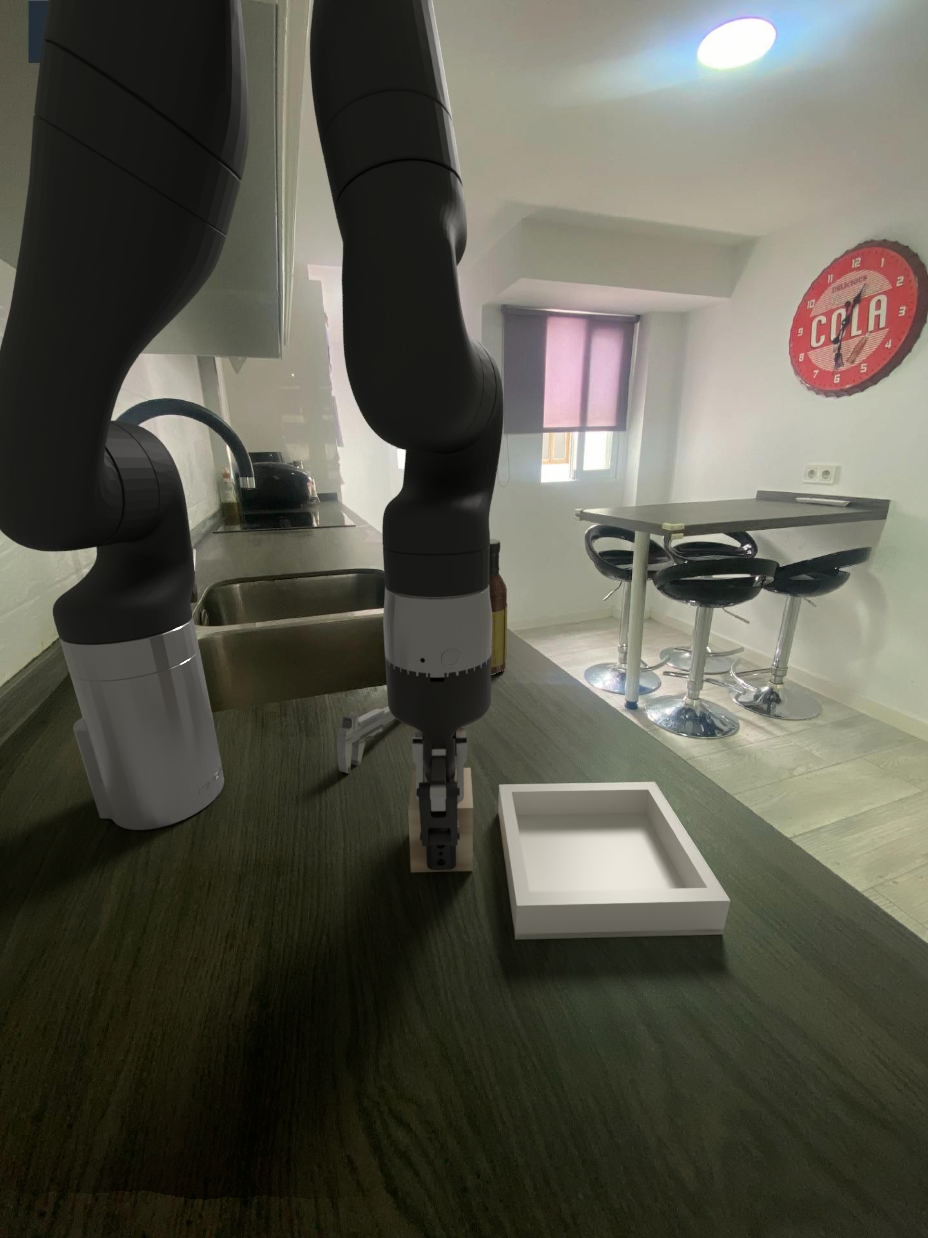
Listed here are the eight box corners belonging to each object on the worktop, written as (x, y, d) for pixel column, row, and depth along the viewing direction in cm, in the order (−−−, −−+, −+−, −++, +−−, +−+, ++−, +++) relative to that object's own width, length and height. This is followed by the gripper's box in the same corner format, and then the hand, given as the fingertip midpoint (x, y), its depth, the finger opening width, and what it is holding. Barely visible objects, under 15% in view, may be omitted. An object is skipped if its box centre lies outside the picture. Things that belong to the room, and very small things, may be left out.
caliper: (348, 778, 48) (343, 724, 46) (339, 775, 48) (333, 722, 46) (437, 692, 65) (436, 650, 63) (430, 691, 66) (429, 649, 64)
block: (410, 872, 36) (407, 807, 34) (415, 826, 41) (412, 767, 39) (472, 871, 36) (473, 806, 35) (470, 825, 41) (470, 766, 39)
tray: (515, 939, 31) (516, 905, 30) (498, 812, 43) (499, 784, 42) (722, 934, 32) (730, 900, 31) (650, 809, 43) (654, 782, 42)
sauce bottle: (480, 657, 76) (481, 535, 70) (513, 667, 73) (518, 539, 66) (456, 671, 71) (455, 540, 65) (491, 682, 68) (494, 545, 61)
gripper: (396, 615, 40) (404, 783, 45) (368, 695, 26) (384, 922, 32) (484, 614, 40) (482, 782, 45) (502, 693, 26) (495, 919, 32)
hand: (442, 838), depth 38 cm, fingers closed on block, 4 cm apart
